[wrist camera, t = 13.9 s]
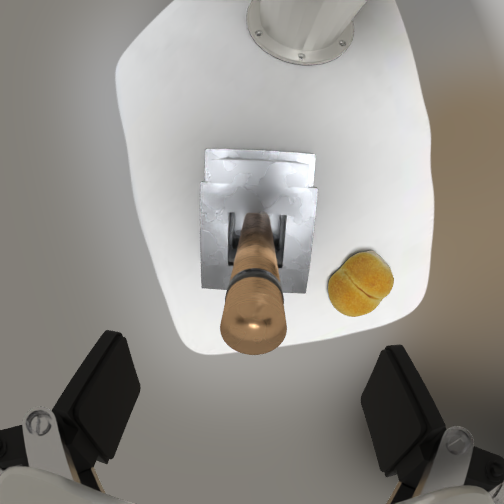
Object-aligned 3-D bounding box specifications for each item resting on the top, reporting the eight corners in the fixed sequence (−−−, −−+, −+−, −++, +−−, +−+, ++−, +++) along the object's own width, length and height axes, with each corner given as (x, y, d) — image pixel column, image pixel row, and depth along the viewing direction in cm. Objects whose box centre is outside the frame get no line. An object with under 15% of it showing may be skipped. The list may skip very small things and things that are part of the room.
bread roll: (314, 289, 35) (320, 305, 31) (361, 238, 32) (373, 249, 29) (354, 319, 37) (362, 336, 33) (398, 274, 34) (410, 287, 30)
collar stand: (207, 148, 29) (187, 147, 21) (314, 154, 29) (333, 155, 21) (206, 264, 34) (191, 298, 26) (303, 269, 34) (314, 305, 26)
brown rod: (243, 207, 30) (218, 299, 12) (271, 209, 30) (291, 302, 11) (242, 234, 31) (219, 353, 13) (269, 235, 31) (283, 356, 13)
